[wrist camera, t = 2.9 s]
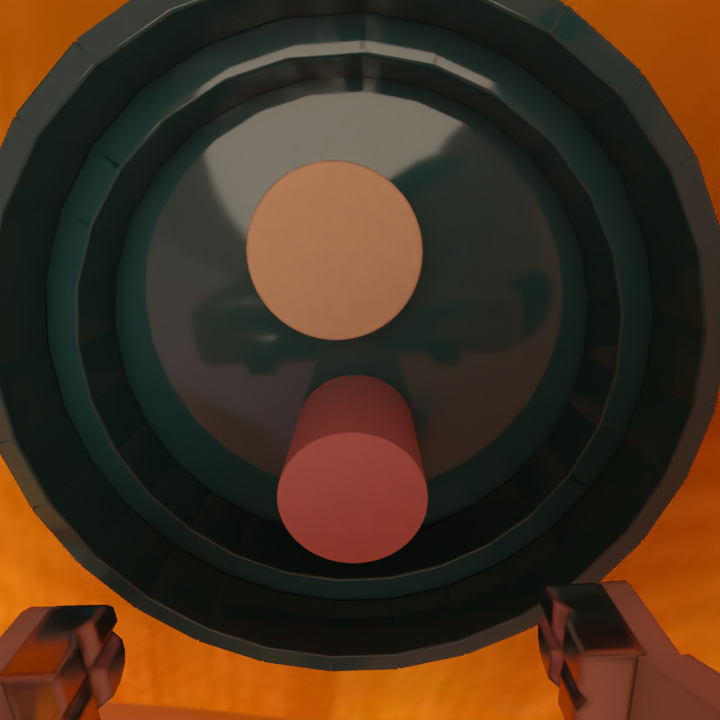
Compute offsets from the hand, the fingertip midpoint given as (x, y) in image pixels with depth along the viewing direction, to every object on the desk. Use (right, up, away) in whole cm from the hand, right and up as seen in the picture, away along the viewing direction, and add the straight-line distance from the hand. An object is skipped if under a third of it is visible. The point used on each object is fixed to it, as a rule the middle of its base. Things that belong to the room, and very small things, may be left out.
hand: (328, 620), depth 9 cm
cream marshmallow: (0, +9, +6) cm, 10 cm away
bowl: (0, +6, +7) cm, 9 cm away
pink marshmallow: (0, +3, +8) cm, 8 cm away
